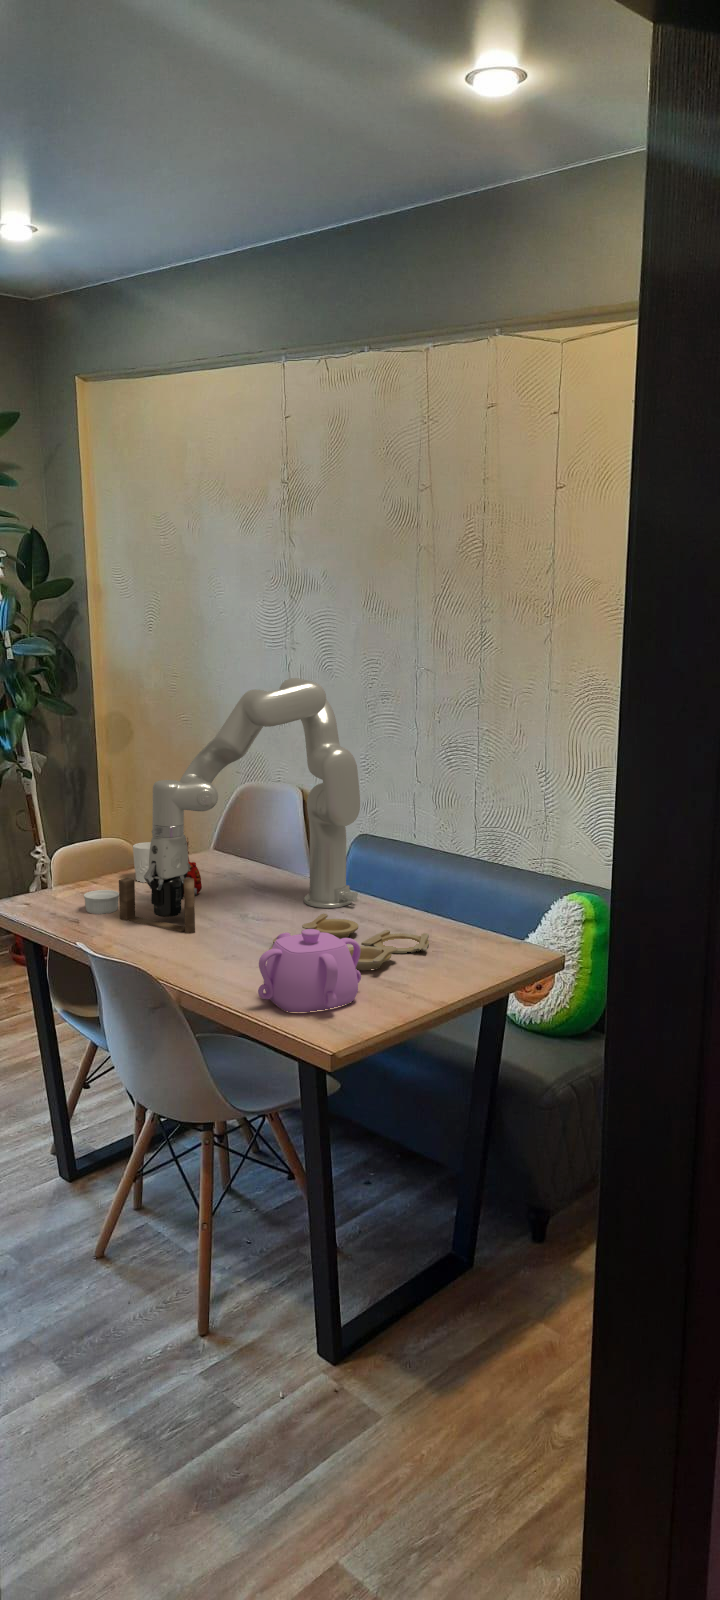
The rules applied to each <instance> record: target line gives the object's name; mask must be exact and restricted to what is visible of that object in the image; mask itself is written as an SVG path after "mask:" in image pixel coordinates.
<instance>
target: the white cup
mask: <svg viewBox="0 0 720 1600" xmlns="http://www.w3.org/2000/svg"><path fill="white" fill-rule="evenodd" d="M150 844H151V841H149V842H147V841H146V842H139V843H135V844H133V845H132V851H133V852H132V853H133V854H132V855H133V865H134V866H133V867H134V871H135V873H134V875H135V880H137V881H136V882H138V881H140V882H139V883H144V882H146V880H145V879H144V875H145V873H146V872H147V870H148V869H149V852H150Z"/></svg>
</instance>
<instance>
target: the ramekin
mask: <svg viewBox="0 0 720 1600" xmlns="http://www.w3.org/2000/svg"><path fill="white" fill-rule="evenodd" d="M83 898H84V904H85V910H86V912H87V913H89V914H92V913H93V915H107V914H111V913H114V912H116V911H117V910H119V891H116V890H113V889H97V890H96V889H95V890H92V891H91V890H90V891H87V892H85V893H84V894H83ZM106 913H107V914H106Z"/></svg>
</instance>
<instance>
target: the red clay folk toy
mask: <svg viewBox="0 0 720 1600" xmlns="http://www.w3.org/2000/svg"><path fill="white" fill-rule="evenodd" d="M186 841H187V848H188V849H189V843H190V841H189V837H186ZM189 854H190V851H189V850H188V863H189V864H190V865H191V867H190V869H189V871H188V872H187V876H186V878H193V879H194V888H197V895H194V897H195V896H199V893H201V890H202V887H203V886H202V876H201V874H200V870H199V869H198V867H197V863H196V862H195V861H190V856H189ZM183 896H184V884H183Z"/></svg>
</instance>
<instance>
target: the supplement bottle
mask: <svg viewBox="0 0 720 1600" xmlns="http://www.w3.org/2000/svg"><path fill="white" fill-rule="evenodd" d="M158 877H159V876H158ZM158 881H159V880H156V883H157V884H158ZM161 890H163V905H162V906H158V905H153V904H152V905H153V914H154V915H155V916H157V917H162V918H172V917H177V916H179V915H180V914H181V913H182V900H181V879H180V878H179V877H174V878H171V879H167V880H164V881H163V885H162V888H161Z"/></svg>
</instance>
